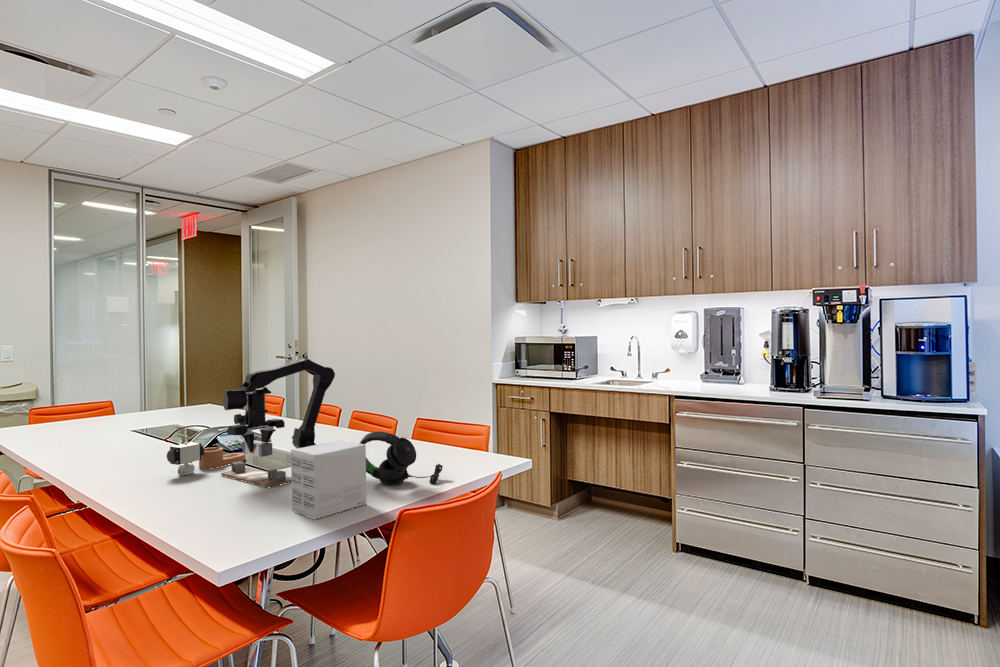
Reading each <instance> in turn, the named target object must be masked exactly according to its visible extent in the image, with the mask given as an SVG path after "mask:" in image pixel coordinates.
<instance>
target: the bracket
mask: <svg viewBox="0 0 1000 667" xmlns="http://www.w3.org/2000/svg"><path fill="white" fill-rule="evenodd" d="M242 460H245V461H246V454H245V453H242V452H231V453H227V454H224V447H215V446H214V447H206V448H205V447H204V454H203V455H202V457H201V460H198V469H199V468H201V469H200V470H211V469H210V468H215V469H218V468H217V467H220V468H222V467H221V466H224V467H226V466H225V465H228V464H232V462H239V461H242ZM228 466H229V465H228Z"/></svg>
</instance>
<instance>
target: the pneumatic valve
mask: <svg viewBox="0 0 1000 667" xmlns="http://www.w3.org/2000/svg"><path fill="white" fill-rule="evenodd" d="M204 449H205V447H204V445H203V444H202V442H197V441H196V442H195V441H192V442H188V441H184V442H183V443H182V444H178V445H172V446H169V450H168V451H167V452H166V459H167V461H168V462H169V464H170V465H176V466H178V467H177V474H178V475H179V476H184V475H186V476H189V475H188V474H190V475H193V474H194V471H195V465H194V464H193V462H196V461H199V460H201V457H202V455H203V454H204ZM192 473H193V474H192Z"/></svg>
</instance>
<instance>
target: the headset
mask: <svg viewBox="0 0 1000 667" xmlns="http://www.w3.org/2000/svg"><path fill="white" fill-rule="evenodd" d="M372 441H373V442H374V441H379V442H383V443H386V444H389V446H388V447H387V449H386V459H384V460H383V461H382V462H381V463H380V464H379V467H378V466H376V465H374V464H373V463H371V461H370V460H369V459H368V458H367V457H366V474H369V475H370V476H371V477H372V478H375V479H377V480H379V482H380V483H381V484H382V485H384V486H386V485H388V486H389V487H391V486H392V487H394V486H396V485H397V486H398V485H399V484H401V483H403V482H404V481H405V480H408V479H409V478H417V479H425V478H429V483H430V484H431V485H432V484H433V485H434V484H436V483H437V482H438V480H439V477H440V473H441V472H442V471H443V464H442V465H441V464H440V463H438V464H435V468H434V472H433V474H431V475H429V476H415V475H410V474H409V473H408V470H407V469H408V467H409V466H411V465H413V464H414V463H415V462H416V460H417V451H416V447H415V446H414V444H413V443H412V441H410V439H408V438H406V437H399V436H397V435H395V434H392V433H389V432H385V431H372V432H369V433H368V434H366V435H364V436H363V437H362V439H361V440H360V442H359V443H360V444H364V445H366V444H367V443H370V442H372ZM393 485H394V486H393Z"/></svg>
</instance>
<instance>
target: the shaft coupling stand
mask: <svg viewBox="0 0 1000 667" xmlns="http://www.w3.org/2000/svg"><path fill="white" fill-rule="evenodd" d="M220 475H223V476H222V477H224V476H227V477H226V478H228V477H231V478H230V479H232V478H235V479H234V480H236V479H239V480H243V481H246V482H245V483H247V482H250V483H249V484H251V483H254V484H253V485H255V484H257V485H256V486H258V485H261V486H260V487H262V486H265V487H264V488H266V487H272V488H274V487H273V486H276V487H278V486H277V485H279V486H281V485H280V484H283V485H285V484H284V483H287V484H289V483H288V482H291V483H292V476H291V477H290V476H287V474H286V471H284V470H278V469H277V468H276V469H275V468H274V469H270V470H267V471H265V470H261V469H257V468H252V467H248V466H246V463H245V462H241V461H239V462H232V465H231V470H229V471H224V472H221V473H220ZM239 480H238V481H239ZM243 481H242V482H243Z"/></svg>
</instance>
